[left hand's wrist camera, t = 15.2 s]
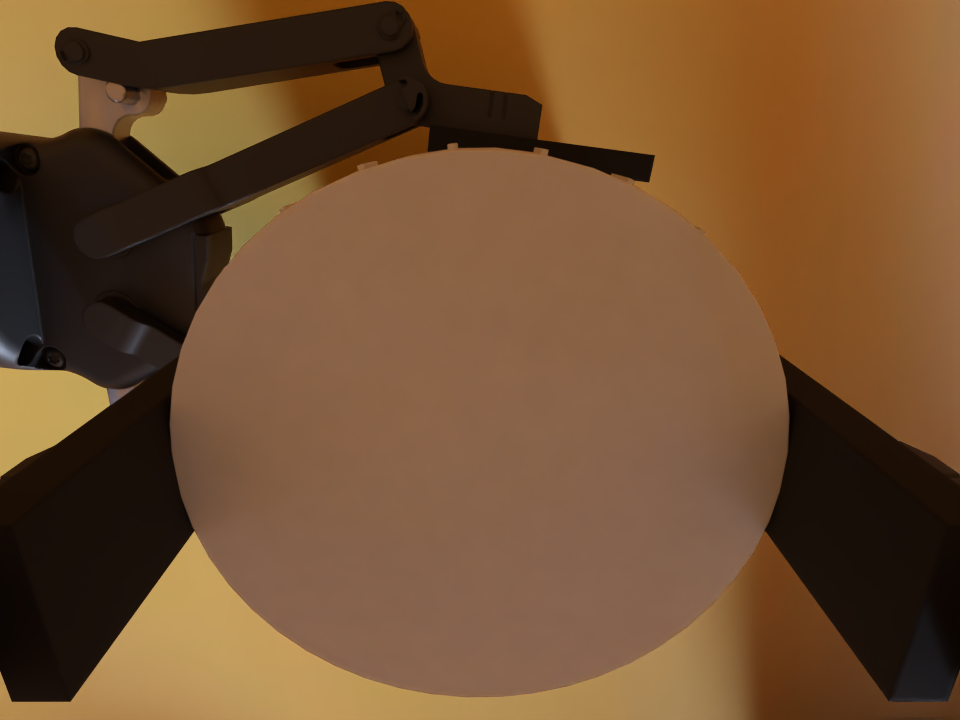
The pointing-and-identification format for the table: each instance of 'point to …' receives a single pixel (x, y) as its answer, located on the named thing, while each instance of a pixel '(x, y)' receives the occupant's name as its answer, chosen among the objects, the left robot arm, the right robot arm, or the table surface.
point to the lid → (479, 422)
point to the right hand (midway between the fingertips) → (607, 324)
